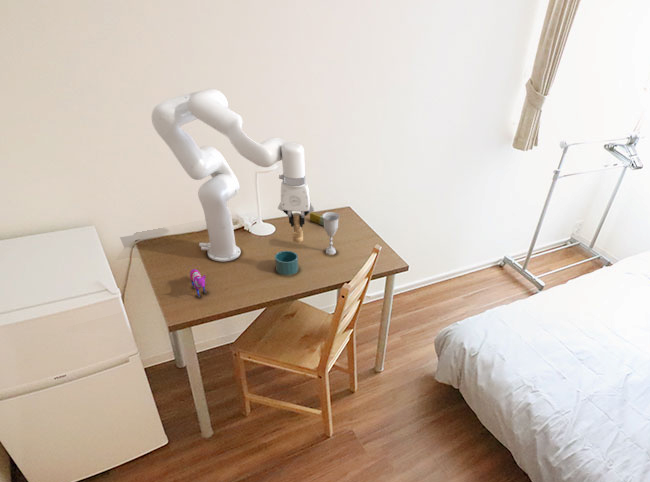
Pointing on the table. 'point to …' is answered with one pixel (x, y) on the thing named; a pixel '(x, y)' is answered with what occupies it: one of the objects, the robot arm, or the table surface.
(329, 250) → the chalice
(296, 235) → the pestle
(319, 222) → the medication box
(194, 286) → the toy dog
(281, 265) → the crock
